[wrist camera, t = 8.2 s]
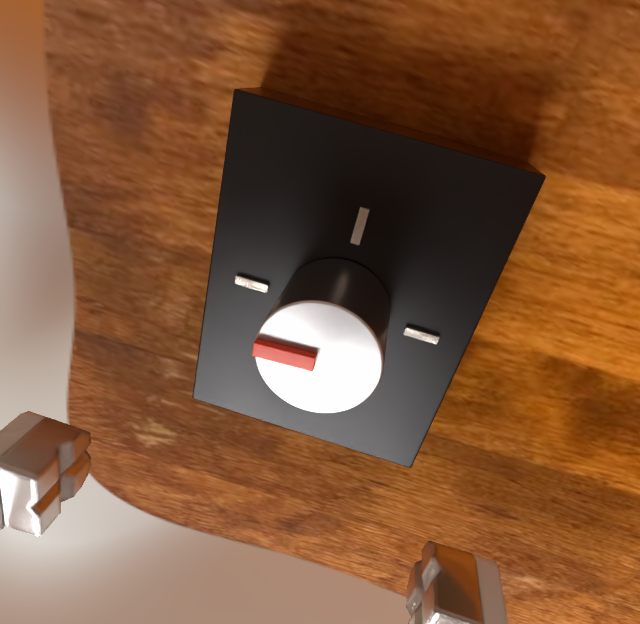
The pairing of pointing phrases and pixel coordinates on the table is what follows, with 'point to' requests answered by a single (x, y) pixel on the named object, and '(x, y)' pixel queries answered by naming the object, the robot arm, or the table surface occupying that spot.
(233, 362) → the panel
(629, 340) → the table surface
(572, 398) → the table surface
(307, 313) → the dial
